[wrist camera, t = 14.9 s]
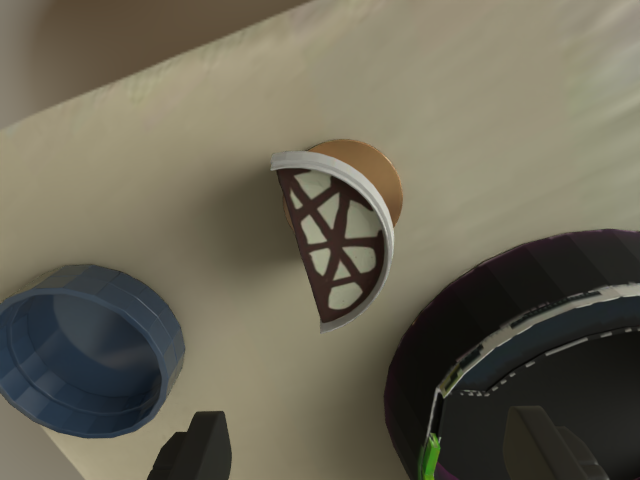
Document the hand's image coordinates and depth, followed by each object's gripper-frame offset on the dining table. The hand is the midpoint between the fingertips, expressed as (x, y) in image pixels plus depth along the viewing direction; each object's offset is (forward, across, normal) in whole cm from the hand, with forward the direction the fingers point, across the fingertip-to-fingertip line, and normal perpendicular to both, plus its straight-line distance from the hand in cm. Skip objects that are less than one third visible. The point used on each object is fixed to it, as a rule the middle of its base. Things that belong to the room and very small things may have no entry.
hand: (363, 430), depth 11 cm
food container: (+24, 0, 0) cm, 24 cm away
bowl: (+24, +24, +13) cm, 36 cm away
